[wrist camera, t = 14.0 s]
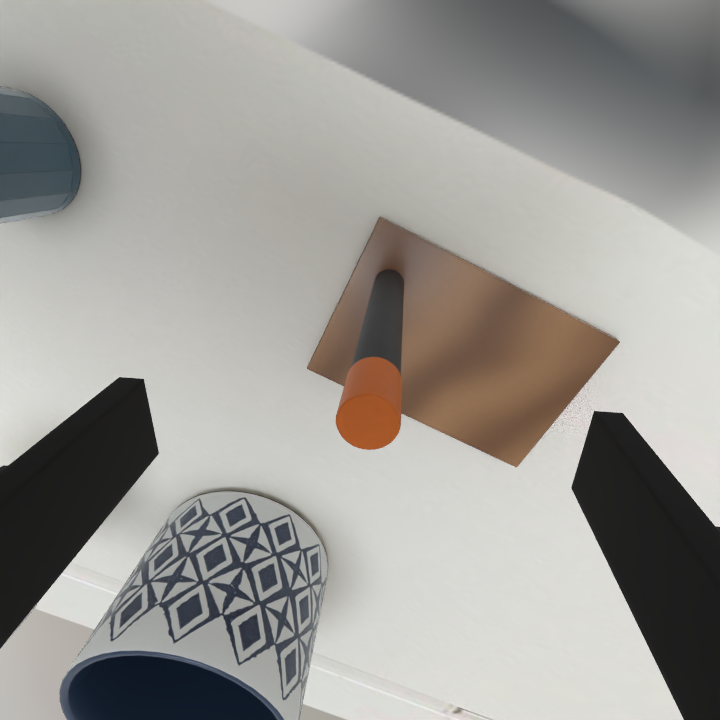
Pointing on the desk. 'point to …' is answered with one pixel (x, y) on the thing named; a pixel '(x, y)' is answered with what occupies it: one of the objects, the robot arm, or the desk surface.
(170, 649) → the planter
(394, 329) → the marker
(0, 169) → the pen cup
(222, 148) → the desk surface
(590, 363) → the brown wooden board
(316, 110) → the desk surface
